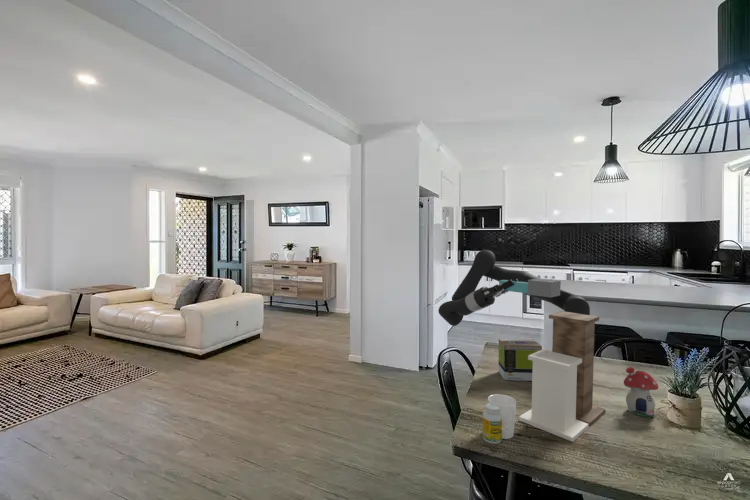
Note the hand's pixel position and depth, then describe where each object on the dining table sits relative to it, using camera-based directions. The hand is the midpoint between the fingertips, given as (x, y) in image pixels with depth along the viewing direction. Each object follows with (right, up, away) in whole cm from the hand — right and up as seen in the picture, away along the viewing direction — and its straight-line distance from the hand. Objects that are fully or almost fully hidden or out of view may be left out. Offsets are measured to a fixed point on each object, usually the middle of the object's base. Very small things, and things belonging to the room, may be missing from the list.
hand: (515, 281), depth 134 cm
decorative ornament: (+37, -43, -12) cm, 58 cm away
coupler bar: (+3, -4, -3) cm, 6 cm away
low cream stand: (+4, -42, -20) cm, 47 cm away
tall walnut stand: (+15, -42, -11) cm, 46 cm away
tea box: (+9, -41, +19) cm, 46 cm away
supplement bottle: (-18, -43, -29) cm, 55 cm away
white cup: (-14, -43, -26) cm, 52 cm away
